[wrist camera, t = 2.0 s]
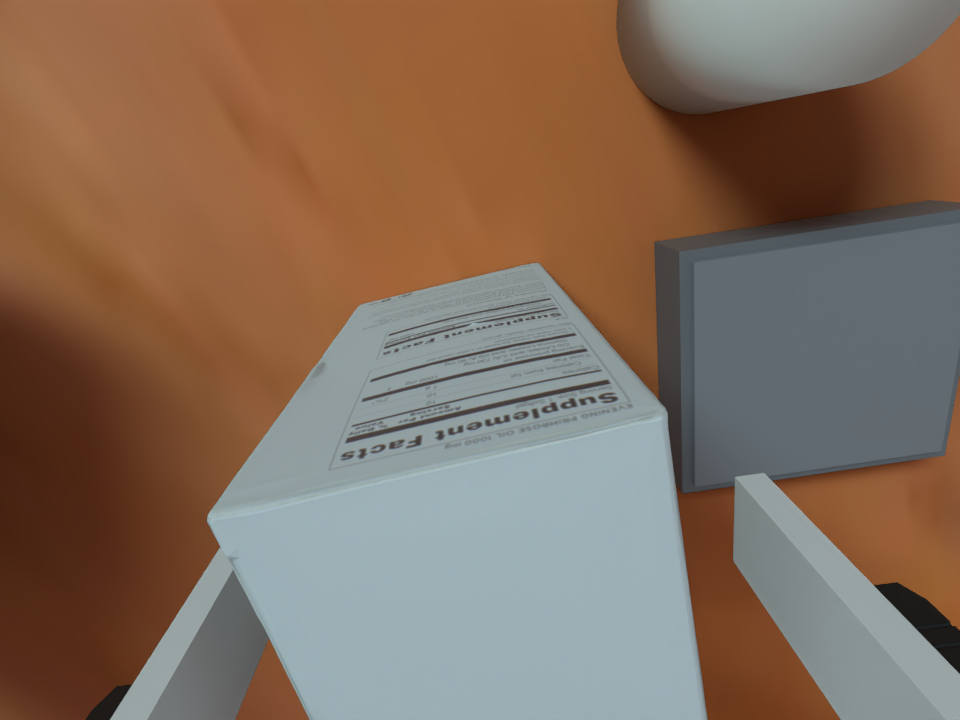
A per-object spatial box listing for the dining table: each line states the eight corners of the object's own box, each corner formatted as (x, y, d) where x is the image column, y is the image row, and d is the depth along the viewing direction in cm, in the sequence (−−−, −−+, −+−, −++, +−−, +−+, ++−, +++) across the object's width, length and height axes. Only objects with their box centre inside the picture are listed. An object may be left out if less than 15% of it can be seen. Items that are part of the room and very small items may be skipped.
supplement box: (575, 430, 29) (723, 760, 13) (408, 469, 29) (350, 836, 13) (540, 254, 25) (681, 405, 10) (352, 300, 26) (186, 520, 10)
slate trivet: (660, 461, 29) (684, 496, 26) (654, 241, 25) (681, 252, 22) (897, 427, 29) (950, 458, 26) (930, 200, 25) (996, 205, 22)
